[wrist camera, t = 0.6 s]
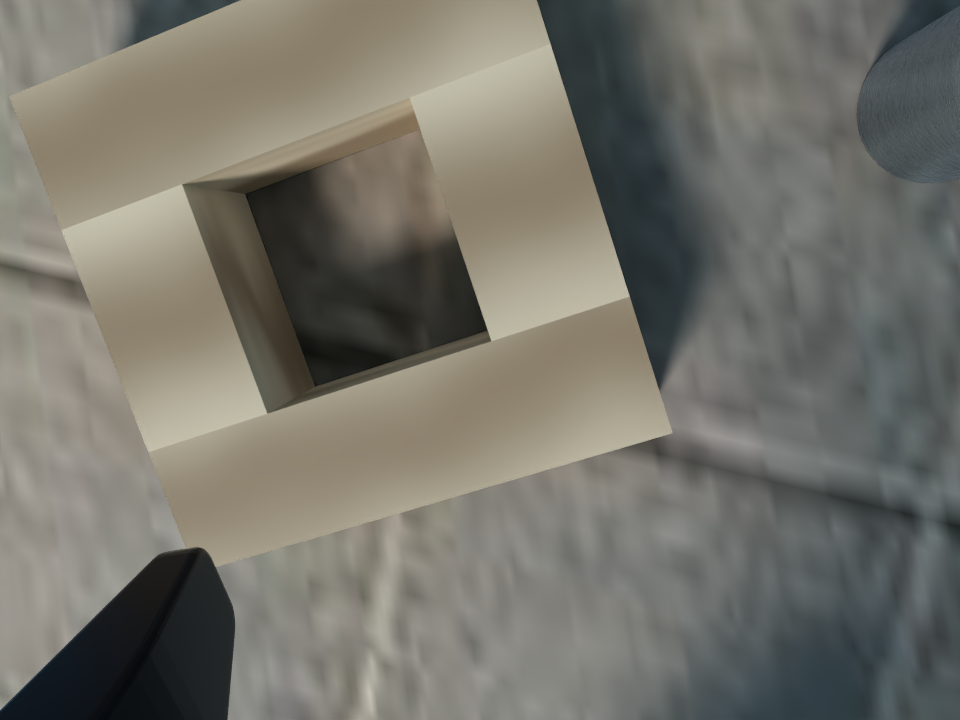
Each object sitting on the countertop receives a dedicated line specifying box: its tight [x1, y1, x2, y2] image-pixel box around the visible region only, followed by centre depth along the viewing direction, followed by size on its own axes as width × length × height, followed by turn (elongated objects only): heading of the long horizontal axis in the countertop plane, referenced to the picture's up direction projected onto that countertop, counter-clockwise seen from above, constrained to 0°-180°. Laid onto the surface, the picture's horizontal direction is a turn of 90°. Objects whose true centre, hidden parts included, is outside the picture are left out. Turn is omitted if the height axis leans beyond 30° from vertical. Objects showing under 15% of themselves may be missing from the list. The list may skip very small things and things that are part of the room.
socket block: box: [9, 0, 672, 567], centre depth 19 cm, size 12×12×4 cm
